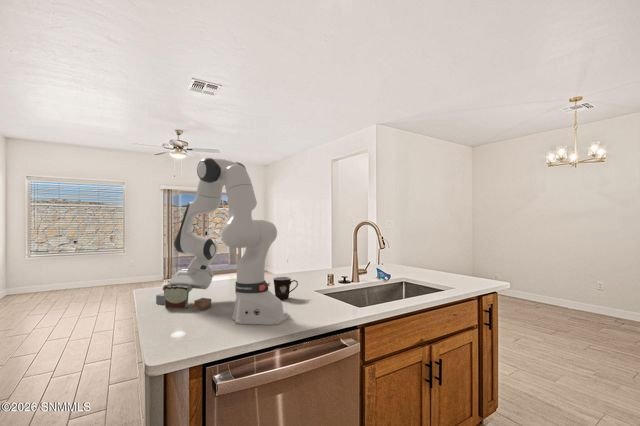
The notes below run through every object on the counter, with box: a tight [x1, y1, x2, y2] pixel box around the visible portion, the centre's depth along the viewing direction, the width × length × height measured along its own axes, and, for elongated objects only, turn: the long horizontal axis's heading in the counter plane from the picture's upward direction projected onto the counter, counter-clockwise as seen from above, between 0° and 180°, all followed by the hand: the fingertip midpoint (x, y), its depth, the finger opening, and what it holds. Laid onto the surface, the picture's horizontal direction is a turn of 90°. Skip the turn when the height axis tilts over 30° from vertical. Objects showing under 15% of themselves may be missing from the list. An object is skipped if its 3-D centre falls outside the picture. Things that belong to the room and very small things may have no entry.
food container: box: [162, 283, 192, 310], centre depth 138 cm, size 12×6×10 cm, turn 85°
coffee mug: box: [273, 276, 299, 301], centre depth 151 cm, size 12×9×10 cm
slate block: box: [155, 292, 165, 305], centre depth 145 cm, size 5×5×4 cm
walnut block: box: [193, 297, 212, 311], centre depth 135 cm, size 5×5×4 cm
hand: (182, 295), depth 139 cm, fingers closed
